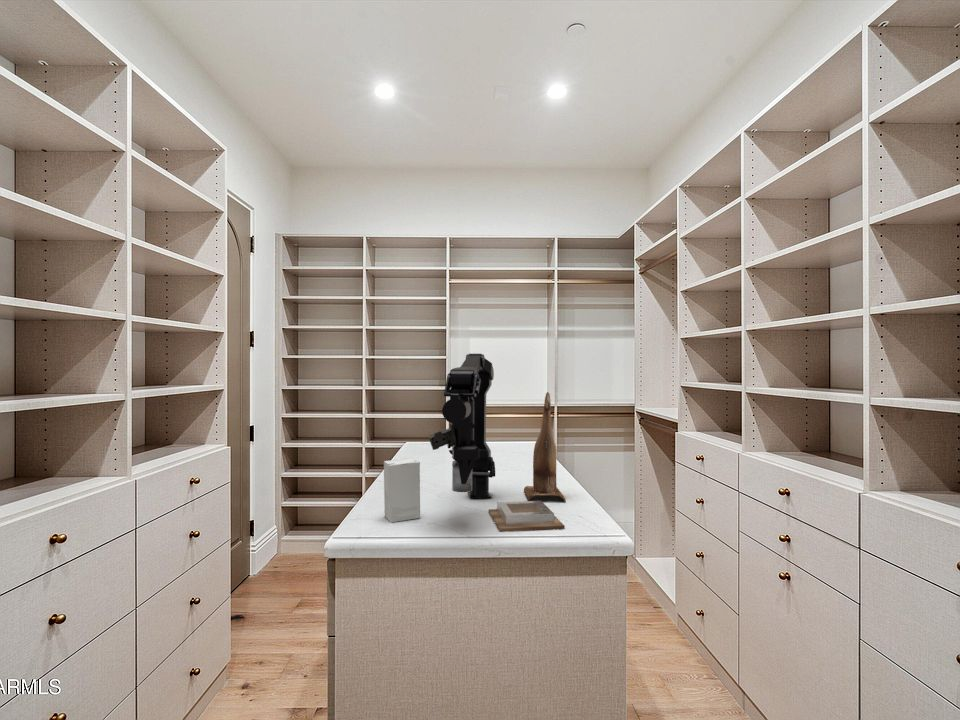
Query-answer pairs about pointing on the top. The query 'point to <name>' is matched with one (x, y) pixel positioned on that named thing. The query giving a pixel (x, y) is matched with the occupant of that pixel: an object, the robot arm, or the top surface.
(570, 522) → the top surface
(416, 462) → the skincare box
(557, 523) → the walnut board
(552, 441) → the bird sculpture
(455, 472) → the cylinder
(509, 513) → the grey square tray
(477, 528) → the top surface
